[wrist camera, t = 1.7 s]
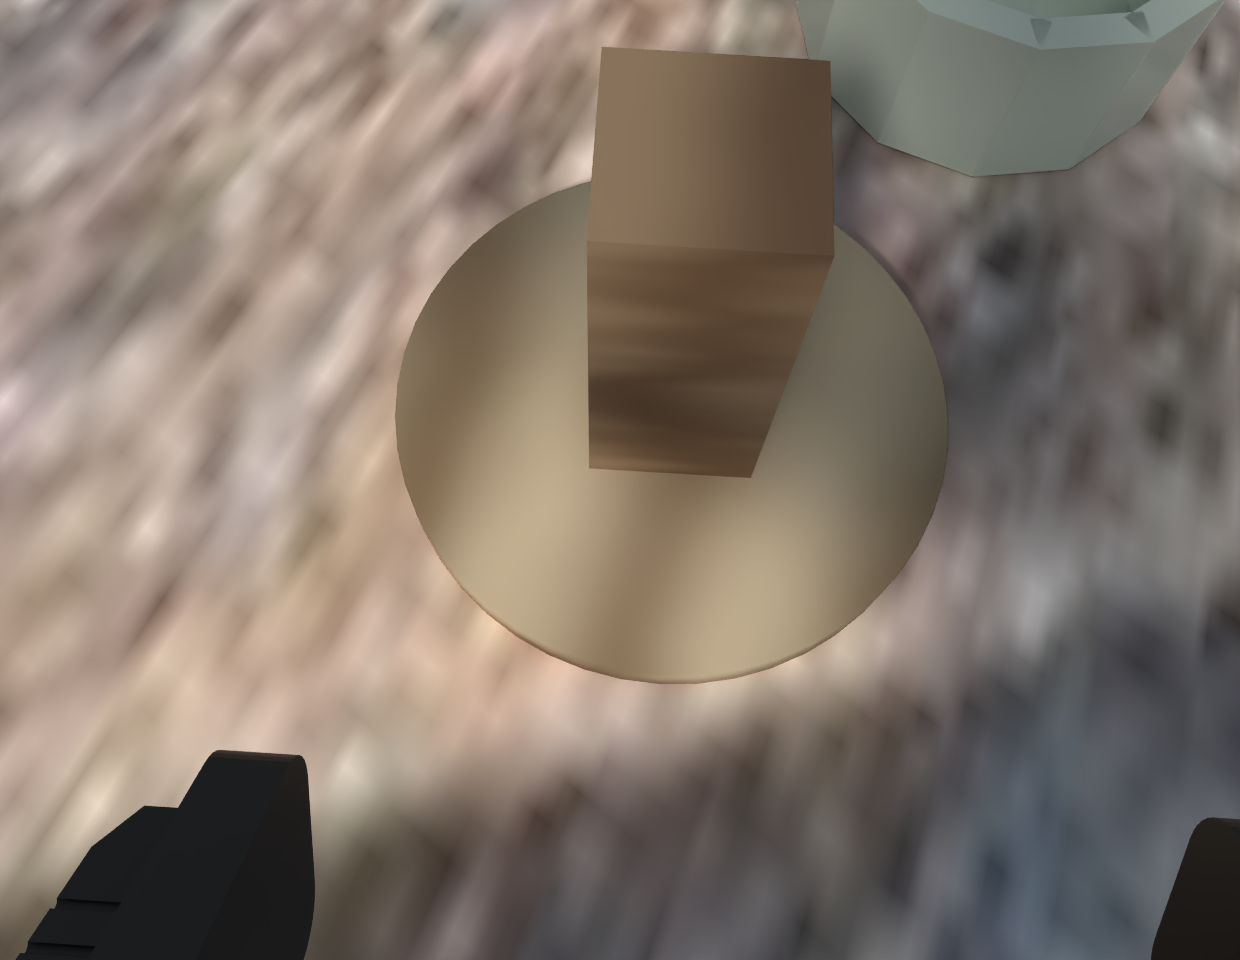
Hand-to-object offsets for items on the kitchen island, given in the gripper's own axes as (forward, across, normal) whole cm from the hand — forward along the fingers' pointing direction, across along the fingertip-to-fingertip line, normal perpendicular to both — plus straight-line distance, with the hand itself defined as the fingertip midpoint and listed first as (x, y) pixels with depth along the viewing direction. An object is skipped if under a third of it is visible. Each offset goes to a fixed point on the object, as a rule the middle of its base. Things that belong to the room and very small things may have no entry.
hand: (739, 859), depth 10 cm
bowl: (+29, -9, -7) cm, 31 cm away
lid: (+19, 0, +3) cm, 19 cm away
